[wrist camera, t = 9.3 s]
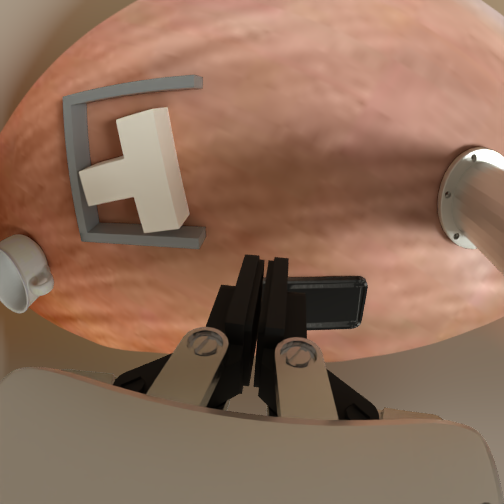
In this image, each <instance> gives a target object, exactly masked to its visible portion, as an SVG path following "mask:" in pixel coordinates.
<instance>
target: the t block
mask: <svg viewBox="0 0 504 504" xmlns="http://www.w3.org/2000/svg"><path fill="white" fill-rule="evenodd" d="M116 123H117V128H118V133H119V137H120V142H121V147H122V151H123V156H120V157H117V158H113V159H110V160H106V161H103V162H99V163H96V164H94V165H92V166H90V167H88V168H85V169H83V170H81V171H79V175H80V179H81V182H82V186H83V190H84V193H85V196H86V200H87V203H88V206H93V205H97V204H102V203H106V202H111V201H116V200H121V199H126V198H131V197H134V199H135V203H136V207H137V210H138V214H139V217H140V221H141V224H142V228H143V231H144V233H150V232H158V231H165V230H173V229H179V228H180V227H181V226H182V224H183V223H184V221H185V220H186V219H187V217H188V216H189V215H190V213H189V209H188V205H187V200H186V196H185V191H184V187H183V182H182V178H181V173H180V168H179V164H178V159H177V154H176V149H175V144H174V139H173V134H172V129H171V123H170V118H169V113H168V107H165V108H155V109H150V110H146V111H143V112H139V113H136V114H133V115H129V116H126V117H123V118H120V119H117V120H116Z"/></svg>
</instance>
